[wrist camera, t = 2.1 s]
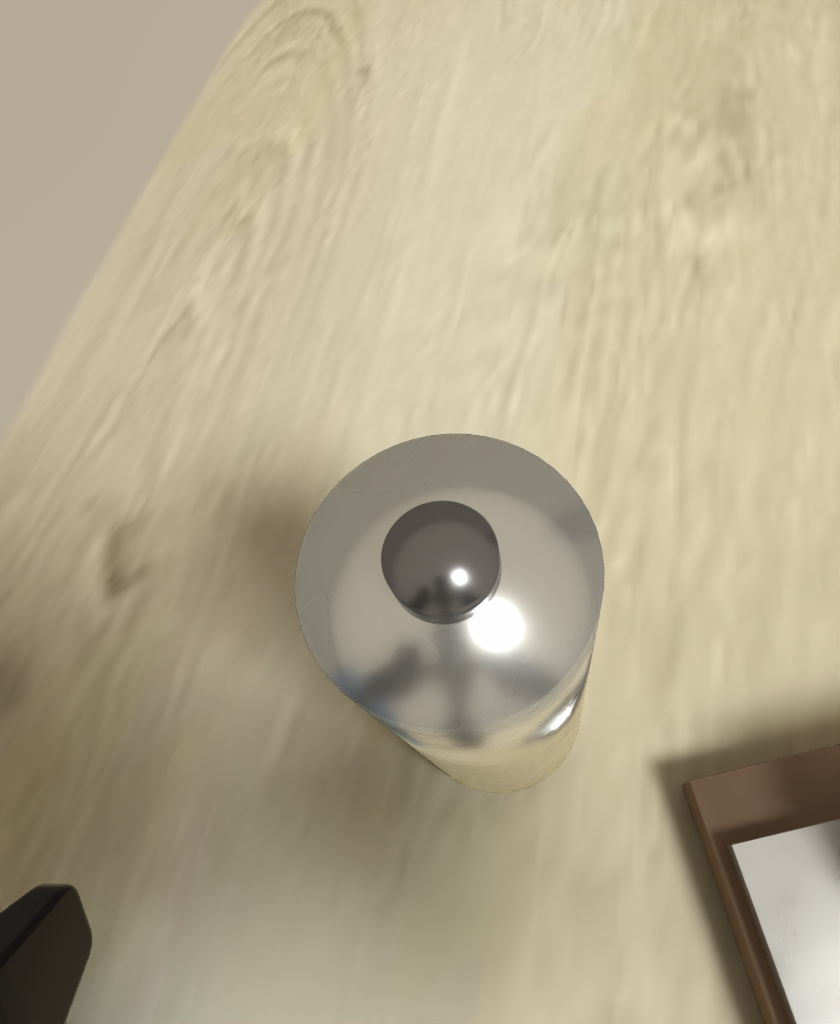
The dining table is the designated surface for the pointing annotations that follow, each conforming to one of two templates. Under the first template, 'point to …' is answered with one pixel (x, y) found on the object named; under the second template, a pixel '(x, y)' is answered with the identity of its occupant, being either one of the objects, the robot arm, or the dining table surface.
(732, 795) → the board
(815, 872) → the hinge leaves
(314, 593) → the hinge barrel
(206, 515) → the dining table surface
